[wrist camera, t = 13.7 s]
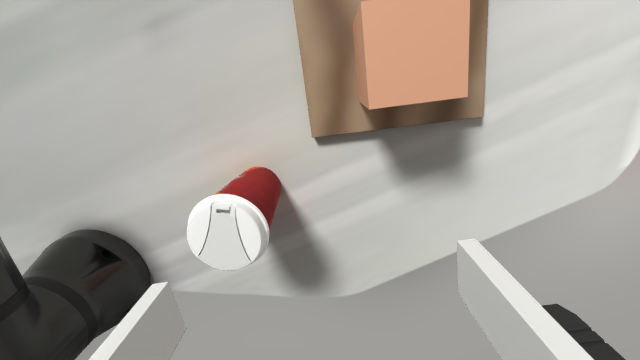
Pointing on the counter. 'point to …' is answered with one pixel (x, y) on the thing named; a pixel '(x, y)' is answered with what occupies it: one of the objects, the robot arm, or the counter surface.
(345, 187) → the counter surface
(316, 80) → the wooden base with block
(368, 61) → the peach bevelled cube
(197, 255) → the paper cup
